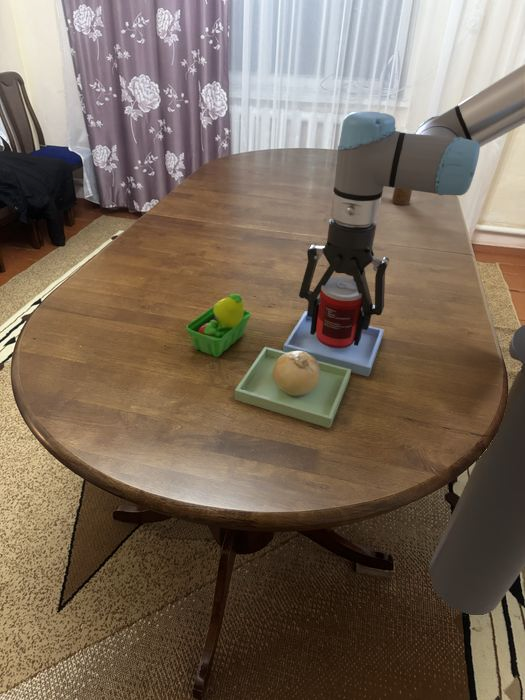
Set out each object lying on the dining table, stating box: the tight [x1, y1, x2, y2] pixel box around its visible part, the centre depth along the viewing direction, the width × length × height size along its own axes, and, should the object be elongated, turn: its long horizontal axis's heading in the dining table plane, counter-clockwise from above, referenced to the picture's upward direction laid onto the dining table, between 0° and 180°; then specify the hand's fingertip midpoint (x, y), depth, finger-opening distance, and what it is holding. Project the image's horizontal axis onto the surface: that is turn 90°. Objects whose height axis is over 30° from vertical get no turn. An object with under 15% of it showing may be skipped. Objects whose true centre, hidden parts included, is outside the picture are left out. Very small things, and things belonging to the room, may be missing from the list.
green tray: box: [234, 346, 352, 429], centre depth 79 cm, size 16×13×2 cm
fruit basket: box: [185, 293, 252, 358], centre depth 86 cm, size 11×9×11 cm
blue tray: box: [282, 310, 385, 378], centre depth 89 cm, size 16×13×2 cm
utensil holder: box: [391, 188, 413, 206], centre depth 155 cm, size 6×6×12 cm
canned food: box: [316, 275, 362, 348], centre depth 85 cm, size 8×8×11 cm
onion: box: [273, 351, 320, 396], centre depth 77 cm, size 8×8×7 cm
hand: (335, 336), depth 88 cm, fingers closed on canned food, 8 cm apart
